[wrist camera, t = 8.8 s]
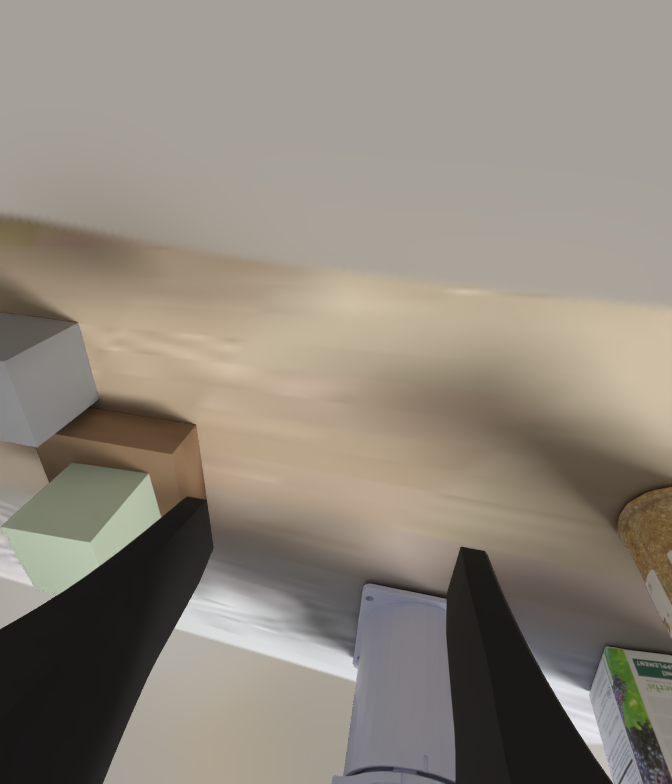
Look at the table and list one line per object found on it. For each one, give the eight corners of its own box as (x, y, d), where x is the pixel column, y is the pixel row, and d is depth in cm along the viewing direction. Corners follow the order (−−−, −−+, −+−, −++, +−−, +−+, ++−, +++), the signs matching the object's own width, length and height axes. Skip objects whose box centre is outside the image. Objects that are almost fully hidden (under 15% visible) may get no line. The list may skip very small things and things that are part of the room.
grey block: (100, 398, 24) (37, 447, 20) (28, 386, 24) (-47, 432, 21) (79, 322, 22) (4, 361, 18) (0, 311, 22) (-89, 347, 18)
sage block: (166, 533, 25) (116, 606, 21) (95, 522, 25) (36, 590, 21) (148, 473, 22) (90, 542, 18) (72, 462, 23) (0, 526, 19)
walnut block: (213, 521, 28) (191, 560, 25) (101, 500, 29) (69, 534, 26) (199, 420, 24) (171, 454, 21) (69, 399, 25) (28, 429, 22)
